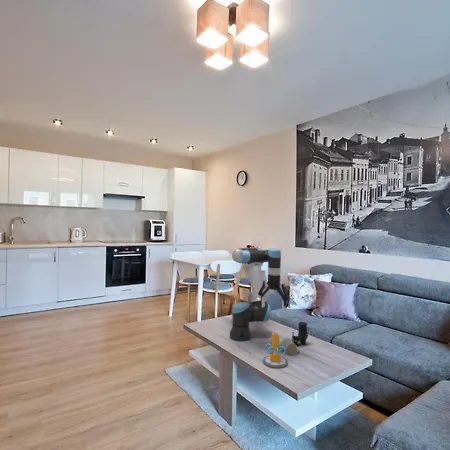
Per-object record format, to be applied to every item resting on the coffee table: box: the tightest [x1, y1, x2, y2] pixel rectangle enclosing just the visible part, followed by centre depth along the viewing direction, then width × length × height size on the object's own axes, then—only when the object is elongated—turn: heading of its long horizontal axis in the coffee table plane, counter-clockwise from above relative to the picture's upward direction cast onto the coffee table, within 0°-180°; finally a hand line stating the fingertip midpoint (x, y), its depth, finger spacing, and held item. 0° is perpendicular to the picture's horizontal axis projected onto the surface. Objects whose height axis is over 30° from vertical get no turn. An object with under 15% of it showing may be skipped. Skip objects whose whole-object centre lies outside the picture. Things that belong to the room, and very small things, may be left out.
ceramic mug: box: [280, 337, 301, 356], centre depth 188 cm, size 11×8×8 cm
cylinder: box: [265, 332, 287, 362], centre depth 173 cm, size 12×10×15 cm
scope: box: [290, 321, 309, 348], centre depth 201 cm, size 8×14×10 cm
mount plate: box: [262, 355, 289, 369], centre depth 173 cm, size 14×14×1 cm
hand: (273, 309), depth 185 cm, fingers open, 13 cm apart
